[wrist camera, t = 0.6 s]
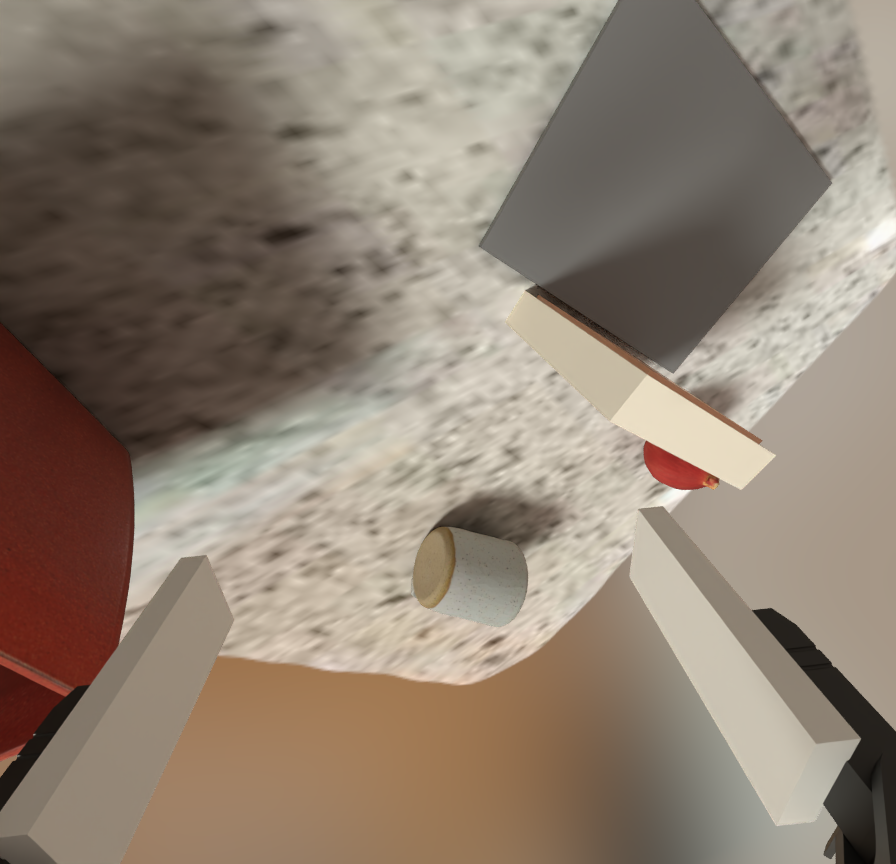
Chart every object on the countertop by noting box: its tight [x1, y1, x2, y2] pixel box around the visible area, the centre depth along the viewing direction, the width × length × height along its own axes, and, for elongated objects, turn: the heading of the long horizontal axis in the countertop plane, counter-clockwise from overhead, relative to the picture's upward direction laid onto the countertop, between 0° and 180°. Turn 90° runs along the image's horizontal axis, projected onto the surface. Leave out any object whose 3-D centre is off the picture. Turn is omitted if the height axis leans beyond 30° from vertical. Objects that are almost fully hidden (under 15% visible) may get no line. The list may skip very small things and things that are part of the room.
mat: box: [479, 0, 832, 373], centre depth 29 cm, size 16×20×1 cm
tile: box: [505, 291, 776, 490], centre depth 27 cm, size 11×3×14 cm, turn 59°
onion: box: [644, 441, 719, 490], centre depth 37 cm, size 6×6×8 cm
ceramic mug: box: [411, 527, 528, 627], centre depth 39 cm, size 11×8×8 cm
